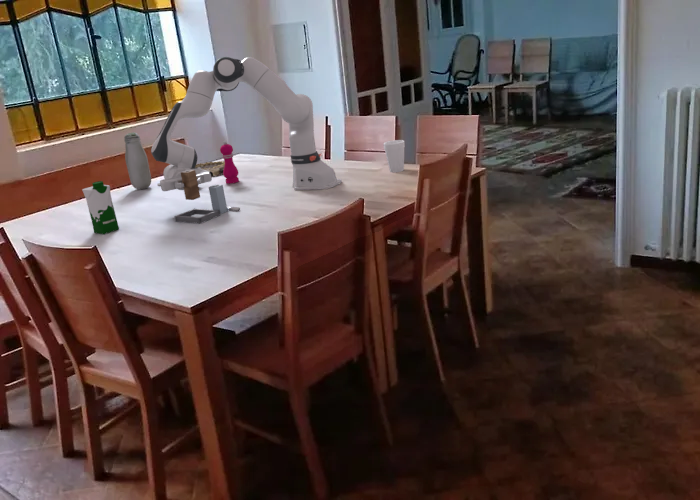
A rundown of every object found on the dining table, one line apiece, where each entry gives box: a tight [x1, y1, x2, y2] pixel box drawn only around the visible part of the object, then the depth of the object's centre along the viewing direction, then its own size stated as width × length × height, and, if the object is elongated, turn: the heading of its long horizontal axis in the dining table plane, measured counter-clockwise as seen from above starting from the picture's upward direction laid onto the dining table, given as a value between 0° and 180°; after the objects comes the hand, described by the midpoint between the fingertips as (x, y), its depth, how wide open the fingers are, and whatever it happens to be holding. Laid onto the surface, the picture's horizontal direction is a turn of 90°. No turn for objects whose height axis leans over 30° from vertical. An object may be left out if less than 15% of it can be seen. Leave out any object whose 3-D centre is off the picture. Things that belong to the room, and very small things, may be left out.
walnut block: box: [181, 170, 201, 201], centre depth 270 cm, size 4×4×11 cm
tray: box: [174, 207, 221, 224], centre depth 274 cm, size 14×11×2 cm
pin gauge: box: [227, 206, 241, 212], centre depth 281 cm, size 10×2×2 cm
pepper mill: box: [219, 140, 240, 185], centre depth 329 cm, size 7×7×20 cm
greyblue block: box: [208, 184, 229, 215], centre depth 278 cm, size 4×4×11 cm
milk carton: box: [81, 180, 120, 235], centre depth 271 cm, size 9×9×20 cm
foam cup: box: [383, 139, 406, 173], centre depth 309 cm, size 10×9×13 cm
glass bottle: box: [123, 132, 152, 190], centre depth 340 cm, size 10×10×28 cm
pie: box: [195, 160, 225, 177], centre depth 362 cm, size 28×27×5 cm
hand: (190, 183), depth 270 cm, fingers closed on walnut block, 5 cm apart
